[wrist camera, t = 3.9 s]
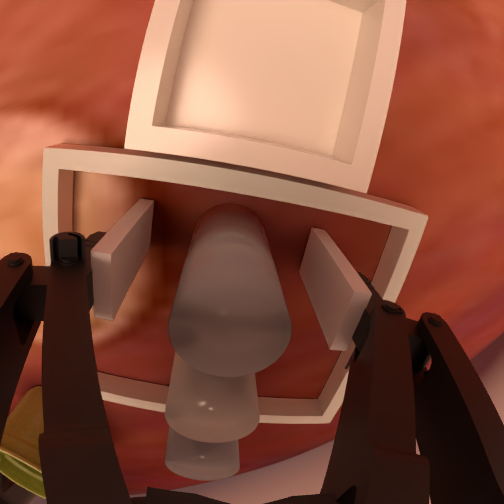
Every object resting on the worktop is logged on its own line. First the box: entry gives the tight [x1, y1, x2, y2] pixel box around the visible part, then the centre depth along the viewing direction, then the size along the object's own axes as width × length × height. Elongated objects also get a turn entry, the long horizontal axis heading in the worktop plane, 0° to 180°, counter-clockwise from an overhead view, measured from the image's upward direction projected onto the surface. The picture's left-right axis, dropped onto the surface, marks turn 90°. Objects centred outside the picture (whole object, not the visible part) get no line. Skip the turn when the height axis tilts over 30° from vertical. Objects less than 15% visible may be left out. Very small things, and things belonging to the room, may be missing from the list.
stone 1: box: [168, 204, 292, 377], centre depth 13 cm, size 4×4×8 cm
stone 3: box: [165, 425, 240, 480], centre depth 17 cm, size 4×4×8 cm
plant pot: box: [0, 386, 46, 499], centre depth 18 cm, size 9×9×9 cm
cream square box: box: [124, 0, 406, 193], centre depth 11 cm, size 10×10×4 cm
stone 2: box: [165, 351, 260, 443], centre depth 15 cm, size 4×4×8 cm
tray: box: [42, 144, 429, 424], centre depth 18 cm, size 17×20×2 cm
